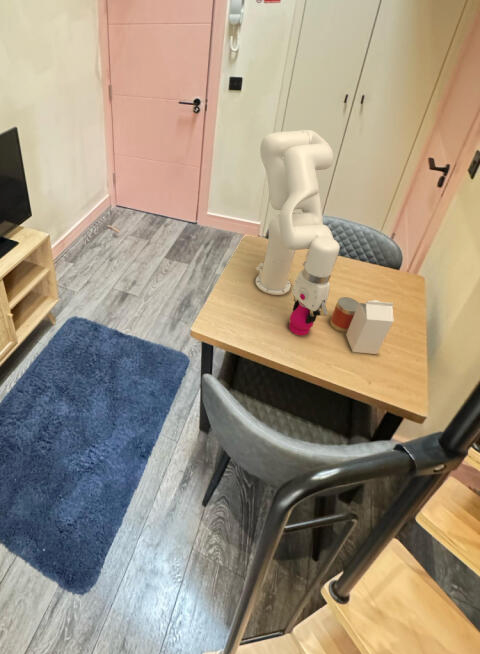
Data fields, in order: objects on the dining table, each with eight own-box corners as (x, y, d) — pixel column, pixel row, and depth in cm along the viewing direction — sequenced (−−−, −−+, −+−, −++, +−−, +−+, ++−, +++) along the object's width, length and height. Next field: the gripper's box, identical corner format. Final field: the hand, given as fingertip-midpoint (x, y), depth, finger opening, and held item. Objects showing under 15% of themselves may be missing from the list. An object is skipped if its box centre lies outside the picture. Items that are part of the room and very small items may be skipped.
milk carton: (377, 354, 126) (398, 311, 115) (352, 352, 128) (371, 309, 117) (369, 337, 132) (389, 295, 121) (345, 335, 133) (363, 293, 123)
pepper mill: (283, 322, 140) (295, 278, 129) (303, 320, 140) (317, 276, 129) (293, 338, 134) (307, 293, 123) (314, 335, 134) (330, 291, 123)
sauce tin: (325, 321, 139) (332, 300, 133) (340, 315, 141) (348, 294, 135) (340, 334, 134) (349, 313, 128) (356, 328, 135) (365, 307, 130)
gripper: (286, 261, 129) (276, 302, 139) (328, 294, 115) (313, 337, 126) (305, 256, 131) (294, 296, 141) (349, 287, 117) (332, 330, 127)
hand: (303, 315), depth 133 cm, fingers closed on pepper mill, 5 cm apart
